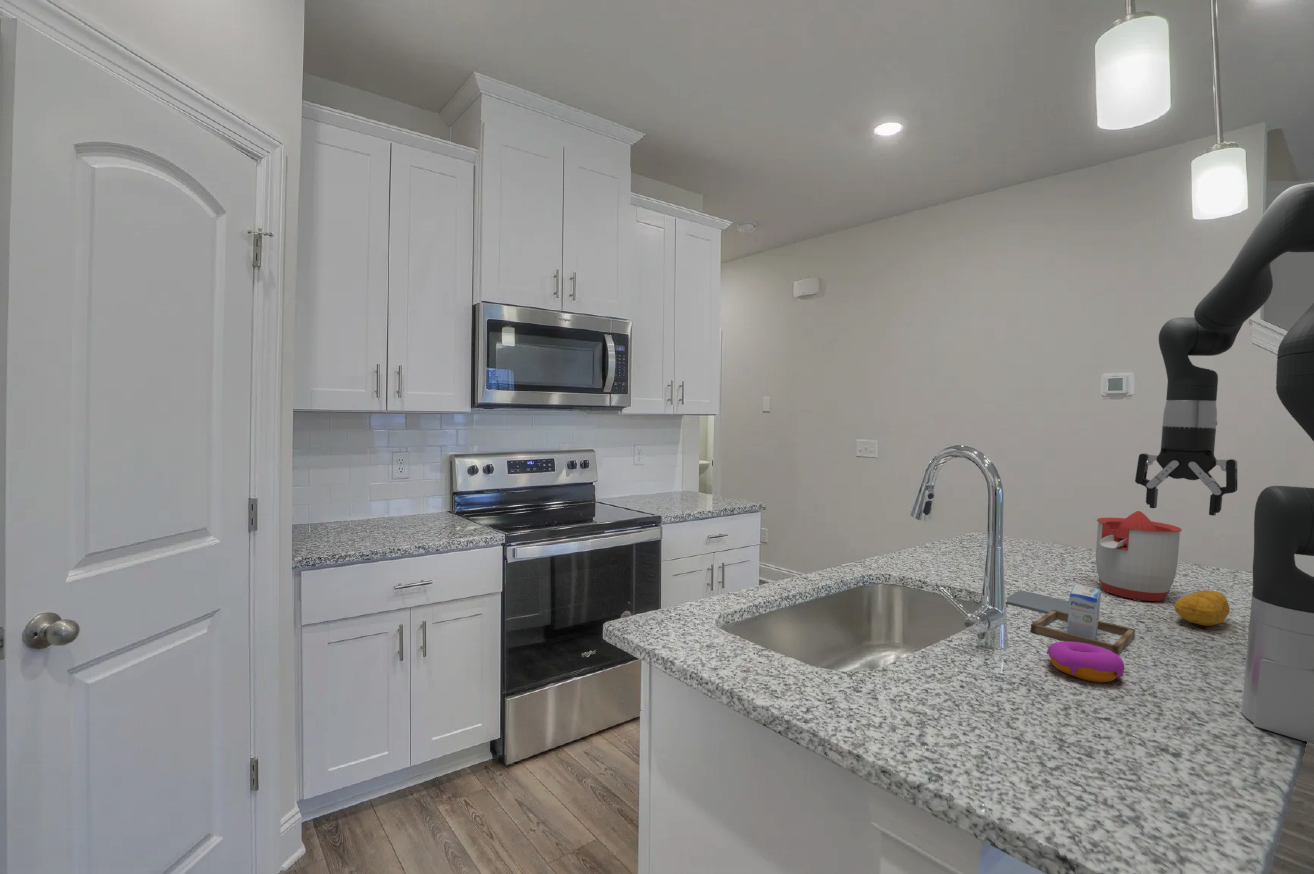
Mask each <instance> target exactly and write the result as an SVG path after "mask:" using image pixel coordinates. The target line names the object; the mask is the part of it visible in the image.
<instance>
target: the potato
mask: <svg viewBox="0 0 1314 874" xmlns="http://www.w3.org/2000/svg"><path fill="white" fill-rule="evenodd" d="M1173 607H1174V610H1175V613H1176V614H1177V615H1179V617H1180V618H1182V619H1184V620H1186V621H1188V622H1189V623H1191V624H1192V623H1193V624H1195V625H1201V626H1205V627H1206V626H1207V627H1211V626H1212V627H1213V626H1215V625H1218V624H1219V625H1220V624H1222V623H1224V622H1225V620H1226V618H1227V617H1228V615H1230V605H1229V602H1228V599H1227V596H1225V595H1224V594H1223V593H1222V592H1219V591H1216V590H1204V589H1203V590H1197V591H1196V592H1195V591H1194V592H1191V593H1188V594H1186V595H1184V596H1182V597H1181V598H1179V599H1177V601H1176V602H1175V603H1174V606H1173Z"/></svg>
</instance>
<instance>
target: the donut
mask: <svg viewBox="0 0 1314 874" xmlns="http://www.w3.org/2000/svg"><path fill="white" fill-rule="evenodd" d="M1046 654H1047V655H1048V657H1049V658H1050V661H1051V664H1052V666H1054V667H1055V668H1056V669H1057V670H1058V671H1061V672H1062V673H1065V674H1066V675H1070V676H1072V677H1074V678H1075V677H1076V678H1078V679H1080V680H1085V681H1089V682H1095V683H1109V682H1111V681H1114V680H1116V679H1117V678H1121V677H1124V671H1125V664H1124V661H1123V659H1122V658H1121V657H1120V656H1119V654H1118V655H1117V654H1115V653H1114V652H1112V651H1110V650H1108V649H1105V648H1102V647H1099V646H1094V645H1090V644H1085V643H1079V642H1070V641H1056V642H1053V643H1051V644H1050V645H1049V646H1048V648H1047V650H1046Z"/></svg>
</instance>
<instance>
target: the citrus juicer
mask: <svg viewBox="0 0 1314 874" xmlns="http://www.w3.org/2000/svg"><path fill="white" fill-rule="evenodd" d="M1096 521H1097V534H1096V546H1095V565H1096V572H1097V575H1098V581H1099V584H1100V586H1101V588H1102V590H1104V591H1105V592H1106V593H1110V594H1112V595H1115V596H1119V597H1124V598H1126V599H1128V598H1129V599H1131V600H1132V599H1135V600H1134V601H1136V600H1143V601H1150V602H1161V601H1163V600H1165V599H1166V597H1168V595H1169V593H1170V591H1171V588H1172V586H1173V584H1174V580H1175V578H1176V574H1177V568H1178V561H1179V560H1178V559H1179V549H1180V548H1179V547H1180V537H1181V532H1182V530H1183V529H1182V528H1181V527H1179V526H1176V525H1172V524H1168V523H1164V522H1163V523H1162V522H1159V521H1151V520H1150V518H1149V517H1148V516H1147V515H1146V514H1145V513H1144V512H1142V511H1139V510H1136V511H1135V512H1133V513H1131V514H1129V515H1128V516H1127V517H1099V518H1096Z"/></svg>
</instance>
